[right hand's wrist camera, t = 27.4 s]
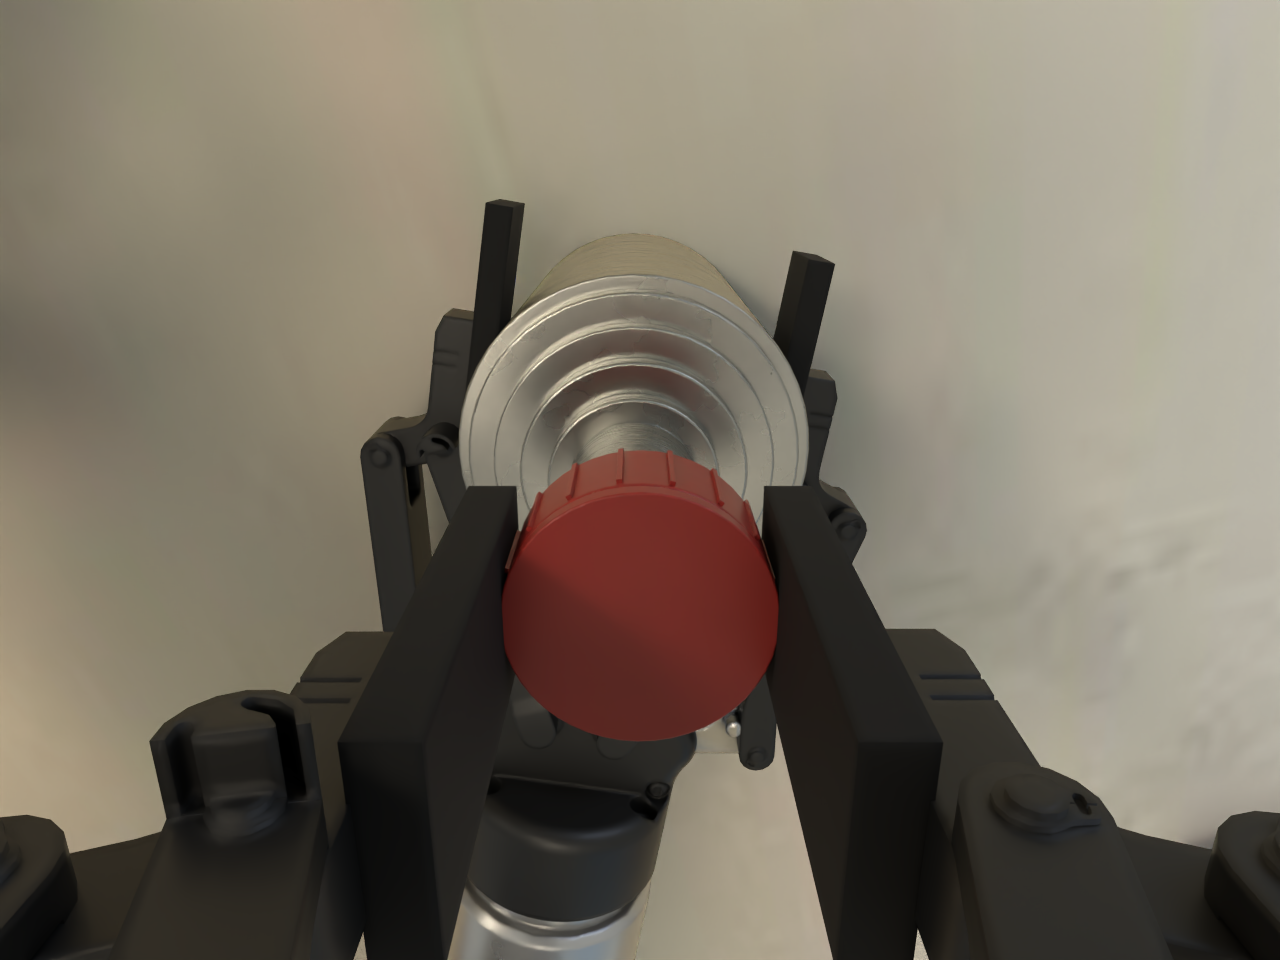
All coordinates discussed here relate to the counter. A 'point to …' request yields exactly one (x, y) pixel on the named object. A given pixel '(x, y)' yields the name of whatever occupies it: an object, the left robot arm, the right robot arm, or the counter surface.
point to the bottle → (633, 377)
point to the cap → (639, 597)
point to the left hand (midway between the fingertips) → (660, 230)
